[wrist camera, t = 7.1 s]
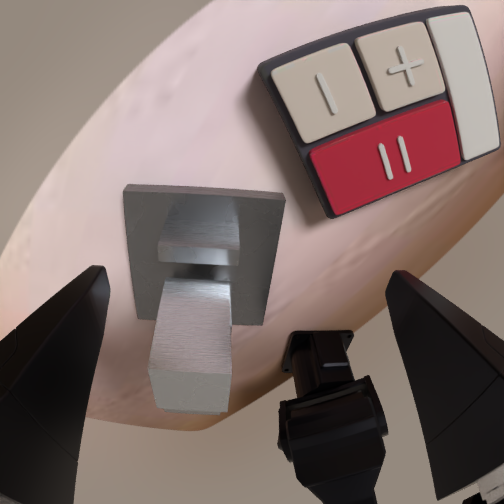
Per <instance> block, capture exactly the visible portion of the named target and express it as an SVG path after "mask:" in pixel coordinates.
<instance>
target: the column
mask: <svg viewBox="0 0 504 504" xmlns="http://www.w3.org/2000/svg"><path fill="white" fill-rule="evenodd" d="M148 373H149V377H150V381H151V386H152V390H153V394H154V398H155V402H156V406H157V408H163V409H164V411H165V412H174V413H188V414H207V415H220V412H227V411H228V402H229V394H230V386H231V377H232V362H231V328H230V286H229V281H225V280H206V279H188V278H171V277H166V278H165V283H164V287H163V292H162V296H161V301H160V306H159V311H158V316H157V321H156V326H155V331H154V336H153V341H152V347H151V352H150V358H149V363H148Z"/></svg>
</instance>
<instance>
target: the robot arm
mask: <svg viewBox="0 0 504 504" xmlns="http://www.w3.org/2000/svg"><path fill="white" fill-rule="evenodd" d="M385 296H386V300H387V305H388V309H389V313H390V317H391V321H392V326H393V330H394V334H395V337H396V341H397V344H398V347H399V350H400V353H401V356H402V359H403V363H404V366H405V369H406V372H407V376H408V379H409V383H410V386H411V390H412V393H413V397H414V400H415V404H416V408H417V411H418V415H419V419H420V423H421V427H422V431H423V435H424V439H425V443H426V449H427V453H428V458H429V462H430V467H431V472H432V477H433V482H434V488H435V493H436V498H437V500H441V499H443V498H445V497H448V496H450V495H452V494H454V493H457V492H459V491H461V490H463V489H465V488H467V487H469V486H471V485H473V484H475V483H477V484H478V488H479V491H480V492H479V493H477V494H475V495H473V496H471V497H469V498H467V499H465V500H464V501H463V503H462V504H504V341H503V340H502V339H500V338H499V337H498V336H496V335H495V334H494V333H492V332H491V331H490V330H488V329H487V328H486V327H484V326H482V325H481V324H480V323H479V322H477V321H476V320H475V319H474V318H472V317H471V316H469V315H468V314H467V313H466V312H464V311H463V310H461V309H460V308H459V307H457V306H456V305H455V304H453V303H452V302H450V301H449V300H448V299H446V298H445V297H443V296H442V295H441V294H439V293H438V292H436V291H435V290H433V289H432V288H430V287H429V286H427V285H426V284H425V283H423V282H422V281H420V280H419V279H418V278H416V277H415V276H413V275H412V274H410V273H409V272H407V271H405V270H396V271H394V272H393V273H392V276H391V278H390V280H389V283H388V285H387V288H386V291H385ZM109 298H110V285H109V281H108V277H107V272H106V269H105V267H104V266H100V265H92V266H90V267H89V268H87V269H86V270H85V271H84V272H82V273H81V274H80V275H78V276H77V277H76V278H75V279H73V280H72V281H71V282H70V283H68V284H67V285H66V286H65V287H63V288H62V289H61V290H60V291H58V292H57V293H56V294H55V295H54V296H52V297H51V298H50V299H49V300H47V301H46V302H45V303H44V304H43V305H41V306H40V307H39V308H38V309H37V310H36V311H34V312H33V313H32V314H31V315H30V316H29V317H27V318H26V319H25V320H24V321H23V322H22V323H20V324H19V325H18V326H17V327H16V329H14V330H12V331H11V332H10V333H9V334H8V335H7V336H6V337H4V338H3V339H2V340H1V341H0V504H73V502H74V491H75V482H76V474H77V466H78V462H77V461H78V458H79V451H80V444H81V438H82V432H83V426H84V421H85V415H86V410H87V405H88V400H89V395H90V391H91V386H92V381H93V377H94V373H95V368H96V364H97V360H98V356H99V352H100V348H101V344H102V340H103V335H104V329H105V322H106V316H107V310H108V304H109ZM353 337H354V334H353V331H352V330H338V331H295V332H293V333H292V335H291V338H290V342H289V345H288V348H287V352H286V355H285V358H284V361H283V365H282V372H284V373H293V377H294V382H295V388H296V394H297V398H295V399H292V400H288V401H286V400H284V401H280V409H279V411H278V412H279V436H278V443H277V444H278V448H279V449H280V450H282V451H283V452H284V454H285V455H286V458H287V460H288V461H289V462H293V464H294V469H295V473H296V478H297V479H298V480H299V482H300V483H301V484H302V485H303V486H304V487H307V488H308V489H309V490H310V491H311V492H312V493H313V494H314V495H315V496H316V497H318V498H319V499H320V500H321V501H322V502H323V504H377V500H376V496H375V492H374V487H375V484H376V482H377V479H378V476H379V473H380V470H381V467H382V464H383V461H384V458H385V453H386V450H385V446H384V442H383V439H382V437H384V436H386V435H388V427H387V423H386V419H385V415H384V412H383V408H382V405H381V403H380V400H379V398H378V395H377V393H376V390H375V388H374V385H373V383H372V381H371V378H370V376H369V375H367V376H364V378H361V379H358V380H356V381H355V379H354V376H353V373H352V370H351V367H350V363H349V359H348V356H347V353H346V351H347V349H348V347H349V345H350V343H351V341H352V339H353Z"/></svg>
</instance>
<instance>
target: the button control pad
mask: <svg viewBox="0 0 504 504" xmlns="http://www.w3.org/2000/svg"><path fill="white" fill-rule="evenodd" d="M258 72H259V74H260V76H261V78H262V80H263V82H264V84H265V86H266V88H267V90H268V92H269V94H270V96H271V98H272V99H273V101H274V103H275V105H276V107H277V109H278V111H279V113H280V115H281V117H282V120H283V122H284V124H285V126H286V128H287V130H288V132H289V134H290V136H291V138H292V140H293V142H294V144H295V147H296V149H297V151H298V153H299V155H300V157H301V160H302V162H303V164H304V166H305V168H306V171H307V173H308V175H309V177H310V179H311V182H312V184H313V186H314V189H315V191H316V193H317V195H318V198H319V200H320V202H321V204H322V207H323V209H324V211H325V213H326V215H327V217H328V218H331V219H334V218H337V217H339V216H342V215H344V214H346V213H349V212H351V211H354V210H356V209H358V208H361V207H363V206H366V205H368V204H370V203H373V202H375V201H378V200H380V199H382V198H385V197H387V196H389V195H392V194H394V193H397V192H399V191H401V190H404V189H406V188H408V187H411V186H413V185H416V184H418V183H420V182H423V181H425V180H428V179H430V178H432V177H435V176H437V175H439V174H442V173H444V172H447V171H449V170H451V169H454V168H456V167H459V166H461V165H463V164H466V163H468V162H470V161H473V160H475V159H478V158H480V157H482V156H485V155H487V154H489V153H492V152H494V151H496V150H498V149H499V148H500V146H501V142H500V133H499V125H498V119H497V112H496V106H495V101H494V95H493V90H492V86H491V81H490V76H489V72H488V68H487V64H486V60H485V56H484V53H483V49H482V45H481V42H480V39H479V35H478V32H477V29H476V26H475V23H474V20H473V17H472V14H471V12H470V10H469V8H468V7H467V6H465V5H456V6H441V7H434V8H429V9H424V10H419V11H414V12H410V13H405V14H401V15H398V16H394V17H390V18H386V19H382V20H378V21H375V22H371V23H368V24H364V25H361V26H357V27H354V28H351V29H348V30H345V31H342V32H339V33H336V34H333V35H330V36H327V37H324V38H321V39H318V40H316V41H313V42H310V43H307V44H305V45H302V46H300V47H297V48H294V49H292V50H289V51H287V52H285V53H282V54H280V55H277V56H275V57H273V58H270V59H268V60H266V61H264V62H262V63H260V64H259V65H258Z"/></svg>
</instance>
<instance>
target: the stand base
mask: <svg viewBox="0 0 504 504" xmlns="http://www.w3.org/2000/svg"><path fill="white" fill-rule="evenodd" d="M123 200H124V213H125V224H126V235H127V244H128V253H129V261H130V269H131V277H132V284H133V291H134V297H135V303H136V310H137V316H138V319H148V320H157V316H158V311H159V306H160V301H161V296H162V292H163V287H164V283H165V278H166V277H171V278H188V279H206V280H225V281H229V286H230V328H231V329H232V325H263V320H264V315H265V310H266V305H267V299H268V294H269V289H270V284H271V278H272V273H273V268H274V262H275V257H276V252H277V246H278V241H279V235H280V230H281V224H282V218H283V213H284V207H285V201H286V200H285V197H284V194H283V193H277V192H265V191H252V190H239V189H224V188H208V187H189V186H167V185H136V184H127V186H126V187H125V189H124V190H123Z"/></svg>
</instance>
